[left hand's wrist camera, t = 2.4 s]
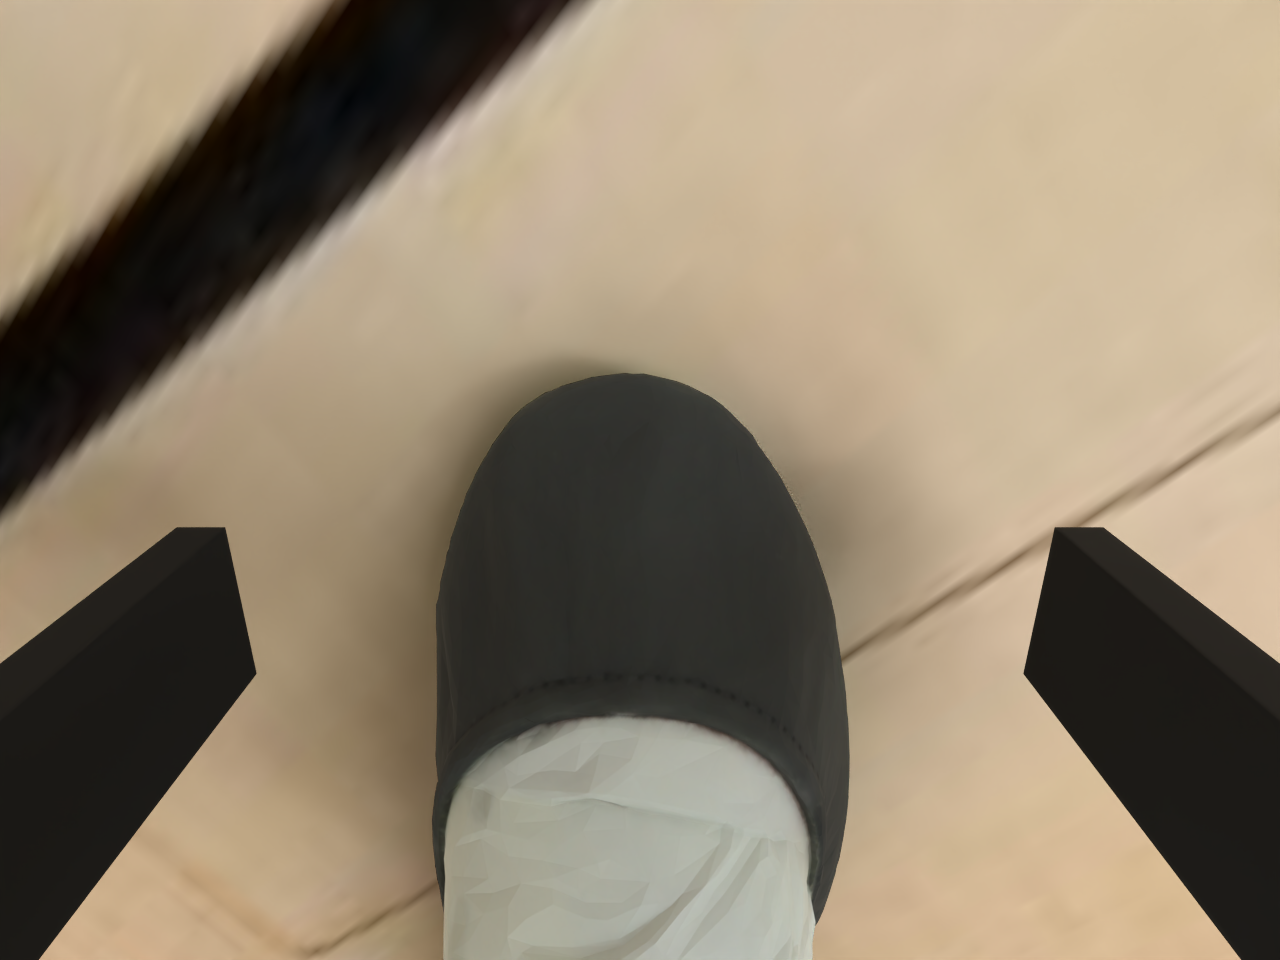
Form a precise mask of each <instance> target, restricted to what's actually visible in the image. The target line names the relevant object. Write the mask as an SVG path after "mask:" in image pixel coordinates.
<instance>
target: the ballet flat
mask: <svg viewBox="0 0 1280 960" xmlns="http://www.w3.org/2000/svg"><path fill="white" fill-rule="evenodd" d="M436 631H437V732H436V765H437V776H438V783H437V787H436V792H435V799H434V807H433V816H432V830H433V848H434V857H435V867H436V873H437V880H438V883H439V887H440V894H441V900H442V905H443V911H444V933H443V960H813V955H812V941H813V935H814V929H815V925H816V924H817V922H818V921H819V918H820V916H821V914H822V912H823V909H824V907H825V904H826V901H827V898H828V895H829V892H830V889H831V886H832V882H833V879H834V876H835V872H836V867H837V864H838V861H839V857H840V852H841V847H842V841H843V836H844V829H845V823H846V816H847V807H848V790H849V731H848V716H847V705H846V691H845V683H844V676H843V670H842V663H841V656H840V649H839V643H838V636H837V630H836V621H835V615H834V610H833V606H832V601H831V597H830V594H829V590H828V587H827V583H826V580H825V577H824V574H823V571H822V568H821V565H820V562H819V560H818V557H817V554H816V551H815V548H814V546H813V543H812V541H811V538H810V536H809V534H808V531H807V529H806V527H805V525H804V523H803V520H802V518H801V516H800V514H799V512H798V510H797V508H796V506H795V504H794V502H793V500H792V498H791V496H790V495H789V493H788V491H787V489H786V487H785V485H784V483H783V481H782V480H781V478H780V476H779V475H778V473H777V472H776V470H775V469H774V467H773V466H772V464H771V463H770V461H769V460H768V458H767V457H766V456H765V454H764V453H763V451H762V450H761V448H760V447H759V446H758V444H757V443H756V441H755V439H754V437H753V435H752V434H751V433H750V432H749V431H748V430H747V429H746V428H745V427H744V426H743V425H742V424H741V423H740V422H739V421H738V420H737V419H736V418H735V417H734V416H733V415H732V414H731V413H730V412H729V411H728V410H727V409H726V408H725V407H724V406H723V405H721V404H720V403H719V402H717V401H716V400H714V399H713V398H712V397H710V396H708V395H706V394H704V393H702V392H700V391H698V390H696V389H694V388H692V387H690V386H688V385H685V384H682V383H679V382H677V381H673V380H669V379H665V378H661V377H656V376H651V375H647V374H628V373H623V374H614V375H605V376H598V377H591V378H588V379H585V380H582V381H578V382H574V383H570V384H567V385H563V386H561V387H559V388H557V389H554V390H552V391H549V392H546V393H544V394H542V395H541V396H539V397H538V398H536V399H535V400H533V401H532V402H530V403H529V404H527V405H526V406H525V407H523V408H522V409H521V410H520V411H519V412H518V413H517V414H516V415H515V416H513V417H512V419H511V420H510V421H509V423H508V424H507V425H506V426H505V428H504V429H503V431H502V432H501V434H500V435H499V436H498V438H497V439H496V440H495V441H494V443H493V444H492V446H491V448H490V450H489V452H488V454H487V456H486V457H485V458H484V460H483V462H482V463H481V465H480V467H479V469H478V471H477V472H476V474H475V477H474V479H473V482H472V484H471V486H470V488H469V490H468V492H467V494H466V497H465V501H464V504H463V506H462V508H461V510H460V514H459V516H458V520H457V523H456V526H455V529H454V532H453V534H452V537H451V541H450V547H449V550H448V552H447V556H446V563H445V567H444V570H443V574H442V578H441V583H440V593H439V598H438V601H437V604H436Z"/></svg>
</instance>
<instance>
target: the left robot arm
mask: <svg viewBox="0 0 1280 960" xmlns="http://www.w3.org/2000/svg"><path fill="white" fill-rule="evenodd" d="M255 675H256V669H255V664H254V660H253V655H252V650H251V646H250V641H249V636H248V632H247V627H246V622H245V618H244V613H243V608H242V604H241V599H240V594H239V590H238V585H237V580H236V576H235V571H234V566H233V562H232V557H231V552H230V548H229V543H228V538H227V534H226V529H225V527H177V528H175V529H174V530H173V531H171V532H170V533H169V534H168V535H166V536H165V537H164V538H162V539H161V540H160V541H159V542H157V543H156V544H155V545H153V546H152V547H151V548H149V549H148V550H147V551H146V552H144V553H143V554H142V555H140V556H139V557H138V558H136V559H135V560H134V561H133V562H131V563H130V564H129V565H127V566H126V567H125V568H124V569H122V570H121V571H120V572H118V573H117V574H116V575H114V576H113V577H112V578H111V579H109V580H108V581H107V582H105V583H104V584H103V585H102V586H100V587H99V588H98V589H96V590H95V591H94V592H92V593H91V594H90V595H89V596H87V597H86V598H85V599H83V600H82V601H81V602H79V603H78V604H77V605H76V606H74V607H73V608H72V609H70V610H69V611H68V612H67V613H65V614H64V615H63V616H61V617H60V618H59V619H57V620H56V621H55V622H54V623H52V624H51V625H50V626H48V627H47V628H46V629H44V630H43V631H42V632H41V633H39V634H38V635H37V636H35V637H34V638H33V639H32V640H30V641H29V642H28V643H26V644H25V645H24V646H22V647H21V648H20V649H19V650H17V651H16V652H15V653H13V654H12V655H11V656H10V657H8V658H7V659H6V660H4V661H3V662H2V663H0V960H39V959H40V957H41V956H42V955H43V953H44V952H45V951H46V950H47V948H48V947H49V946H50V944H51V943H52V942H53V940H54V939H55V938H56V936H57V935H58V934H59V932H60V931H61V930H62V929H63V927H64V926H65V925H66V923H67V922H68V921H69V919H70V918H71V917H72V915H73V914H74V913H75V911H76V910H77V909H78V907H79V906H80V905H81V904H82V902H83V901H84V900H85V898H86V897H87V896H88V894H89V893H90V892H91V890H92V889H93V888H94V886H95V885H96V884H97V883H98V881H99V880H100V879H101V877H102V876H103V875H104V873H105V872H106V871H107V869H108V868H109V867H110V865H111V864H112V863H113V862H114V860H115V859H116V858H117V856H118V855H119V854H120V852H121V851H122V850H123V848H124V847H125V846H126V844H127V843H128V842H129V841H130V839H131V838H132V837H133V835H134V834H135V833H136V831H137V830H138V829H139V827H140V826H141V825H142V823H143V822H144V821H145V819H146V818H147V817H148V816H149V814H150V813H151V812H152V810H153V809H154V808H155V806H156V805H157V804H158V802H159V801H160V800H161V798H162V797H163V796H164V795H165V793H166V792H167V791H168V789H169V788H170V787H171V785H172V784H173V783H174V781H175V780H176V779H177V777H178V776H179V775H180V774H181V772H182V771H183V770H184V768H185V767H186V766H187V764H188V763H189V762H190V760H191V759H192V758H193V756H194V755H195V754H196V753H197V751H198V750H199V749H200V747H201V746H202V745H203V743H204V742H205V741H206V739H207V738H208V737H209V735H210V734H211V733H212V731H213V730H214V729H215V728H216V726H217V725H218V724H219V722H220V721H221V720H222V718H223V717H224V716H225V714H226V713H227V712H228V710H229V709H230V708H231V707H232V705H233V704H234V703H235V701H236V700H237V699H238V697H239V696H240V695H241V693H242V692H243V691H244V689H245V688H246V687H247V686H248V684H249V683H250V682H251V680H252V679H253V678H254V676H255ZM1024 675H1025V676H1026V678H1027V679H1028V680H1029V682H1030V683H1031V684H1032V686H1033V687H1034V688H1035V689H1036V691H1037V692H1038V693H1039V695H1040V696H1041V697H1042V699H1043V700H1044V701H1045V703H1046V704H1047V705H1048V707H1049V708H1050V709H1051V710H1052V712H1053V713H1054V714H1055V716H1056V717H1057V718H1058V720H1059V721H1060V722H1061V724H1062V725H1063V726H1064V728H1065V729H1066V730H1067V731H1068V733H1069V734H1070V735H1071V737H1072V738H1073V739H1074V741H1075V742H1076V743H1077V745H1078V746H1079V747H1080V749H1081V750H1082V751H1083V753H1084V754H1085V755H1086V756H1087V758H1088V759H1089V760H1090V762H1091V763H1092V764H1093V766H1094V767H1095V768H1096V770H1097V771H1098V772H1099V774H1100V775H1101V776H1102V777H1103V779H1104V780H1105V781H1106V783H1107V784H1108V785H1109V787H1110V788H1111V789H1112V791H1113V792H1114V793H1115V795H1116V796H1117V797H1118V798H1119V800H1120V801H1121V802H1122V804H1123V805H1124V806H1125V808H1126V809H1127V810H1128V812H1129V813H1130V814H1131V816H1132V817H1133V818H1134V819H1135V821H1136V822H1137V823H1138V825H1139V826H1140V827H1141V829H1142V830H1143V831H1144V833H1145V834H1146V835H1147V837H1148V838H1149V839H1150V841H1151V842H1152V843H1153V844H1154V846H1155V847H1156V848H1157V850H1158V851H1159V852H1160V854H1161V855H1162V856H1163V858H1164V859H1165V860H1166V862H1167V863H1168V864H1169V865H1170V867H1171V868H1172V869H1173V871H1174V872H1175V873H1176V875H1177V876H1178V877H1179V879H1180V880H1181V881H1182V883H1183V884H1184V885H1185V886H1186V888H1187V889H1188V890H1189V892H1190V893H1191V894H1192V896H1193V897H1194V898H1195V900H1196V901H1197V902H1198V904H1199V905H1200V906H1201V908H1202V909H1203V910H1204V911H1205V913H1206V914H1207V915H1208V917H1209V918H1210V919H1211V921H1212V922H1213V923H1214V925H1215V926H1216V927H1217V929H1218V930H1219V931H1220V932H1221V934H1222V935H1223V936H1224V938H1225V939H1226V940H1227V942H1228V943H1229V944H1230V946H1231V947H1232V948H1233V950H1234V951H1235V952H1236V953H1237V955H1238V956H1239V957H1240V959H1241V960H1280V663H1278V662H1277V661H1276V660H1274V659H1273V658H1272V657H1270V656H1269V655H1268V654H1267V653H1265V652H1264V651H1263V650H1261V649H1260V648H1259V647H1258V646H1256V645H1255V644H1254V643H1252V642H1251V641H1250V640H1248V639H1247V638H1246V637H1245V636H1243V635H1242V634H1241V633H1239V632H1238V631H1237V630H1236V629H1234V628H1233V627H1232V626H1230V625H1229V624H1228V623H1226V622H1225V621H1224V620H1223V619H1221V618H1220V617H1219V616H1217V615H1216V614H1215V613H1213V612H1212V611H1211V610H1210V609H1208V608H1207V607H1206V606H1204V605H1203V604H1202V603H1201V602H1199V601H1198V600H1197V599H1195V598H1194V597H1193V596H1191V595H1190V594H1189V593H1188V592H1186V591H1185V590H1184V589H1182V588H1181V587H1180V586H1178V585H1177V584H1176V583H1175V582H1173V581H1172V580H1171V579H1169V578H1168V577H1167V576H1166V575H1164V574H1163V573H1162V572H1160V571H1159V570H1158V569H1156V568H1155V567H1154V566H1153V565H1151V564H1150V563H1149V562H1147V561H1146V560H1145V559H1143V558H1142V557H1141V556H1140V555H1138V554H1137V553H1136V552H1134V551H1133V550H1132V549H1131V548H1129V547H1128V546H1127V545H1125V544H1124V543H1123V542H1121V541H1120V540H1119V539H1118V538H1116V537H1115V536H1114V535H1112V534H1111V533H1110V532H1109V531H1107V530H1106V529H1105V528H1103V527H1055V529H1054V534H1053V538H1052V543H1051V548H1050V552H1049V557H1048V562H1047V566H1046V571H1045V576H1044V580H1043V585H1042V590H1041V594H1040V599H1039V604H1038V608H1037V613H1036V618H1035V622H1034V627H1033V632H1032V636H1031V641H1030V646H1029V650H1028V655H1027V660H1026V664H1025V669H1024Z"/></svg>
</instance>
